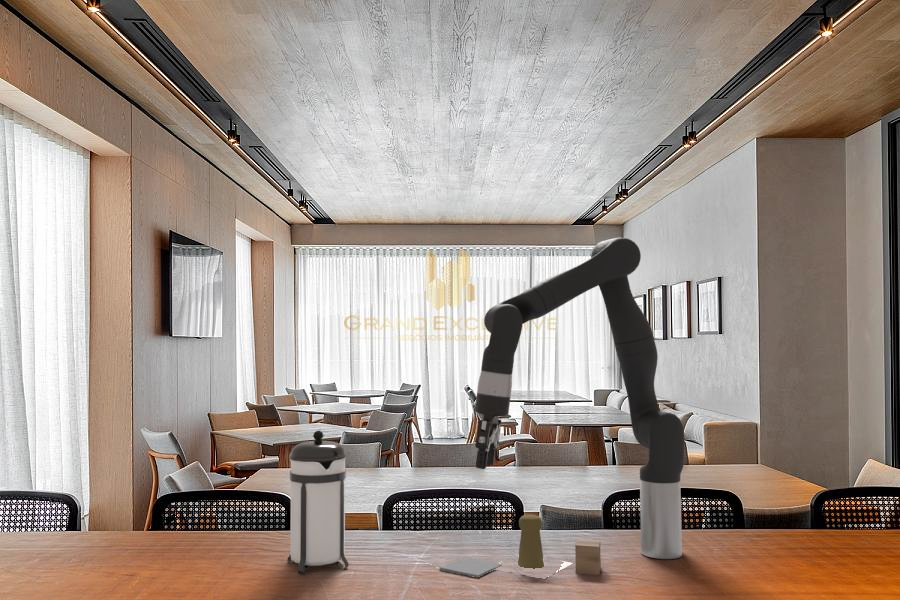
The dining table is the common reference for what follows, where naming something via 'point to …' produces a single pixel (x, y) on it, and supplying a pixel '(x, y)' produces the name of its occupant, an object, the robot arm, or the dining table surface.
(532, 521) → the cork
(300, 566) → the coffee press
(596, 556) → the walnut block
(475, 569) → the slate coaster
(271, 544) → the dining table surface
